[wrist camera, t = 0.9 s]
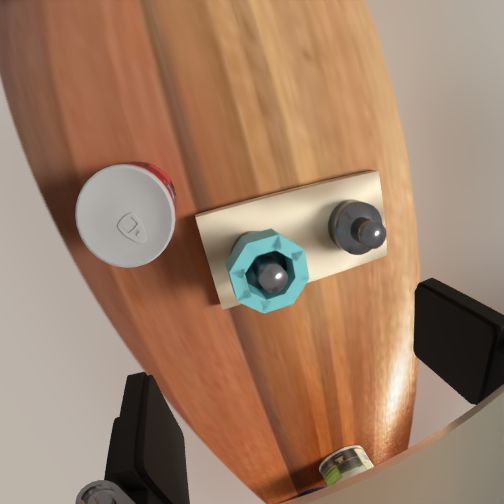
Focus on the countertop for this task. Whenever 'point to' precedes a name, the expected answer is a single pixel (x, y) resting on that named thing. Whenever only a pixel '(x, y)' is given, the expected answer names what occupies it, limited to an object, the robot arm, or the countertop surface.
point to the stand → (266, 270)
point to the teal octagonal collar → (244, 257)
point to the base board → (290, 226)
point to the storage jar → (309, 491)
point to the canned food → (127, 213)
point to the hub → (356, 227)
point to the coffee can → (344, 464)
